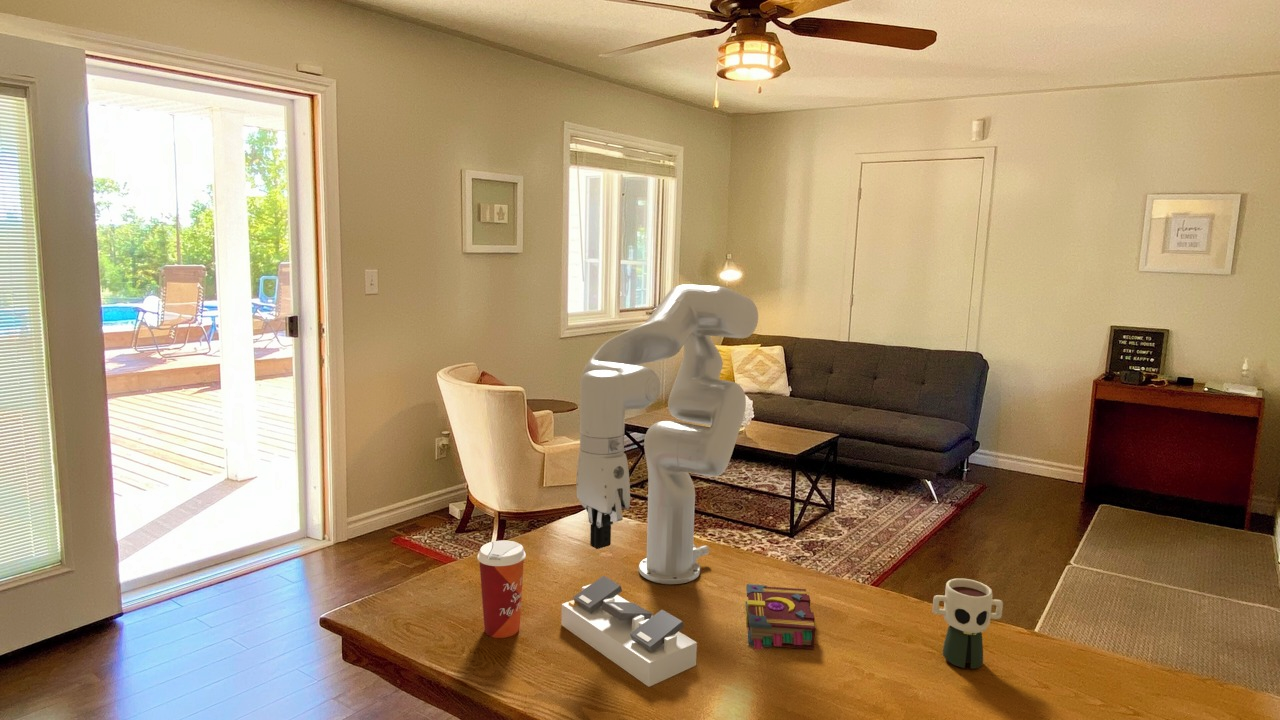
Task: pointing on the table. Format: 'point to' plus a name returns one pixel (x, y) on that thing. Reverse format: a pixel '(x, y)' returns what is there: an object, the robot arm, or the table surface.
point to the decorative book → (779, 617)
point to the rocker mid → (625, 610)
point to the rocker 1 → (597, 594)
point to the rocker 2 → (656, 630)
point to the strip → (629, 643)
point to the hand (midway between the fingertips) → (600, 545)
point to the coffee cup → (501, 586)
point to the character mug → (966, 619)
